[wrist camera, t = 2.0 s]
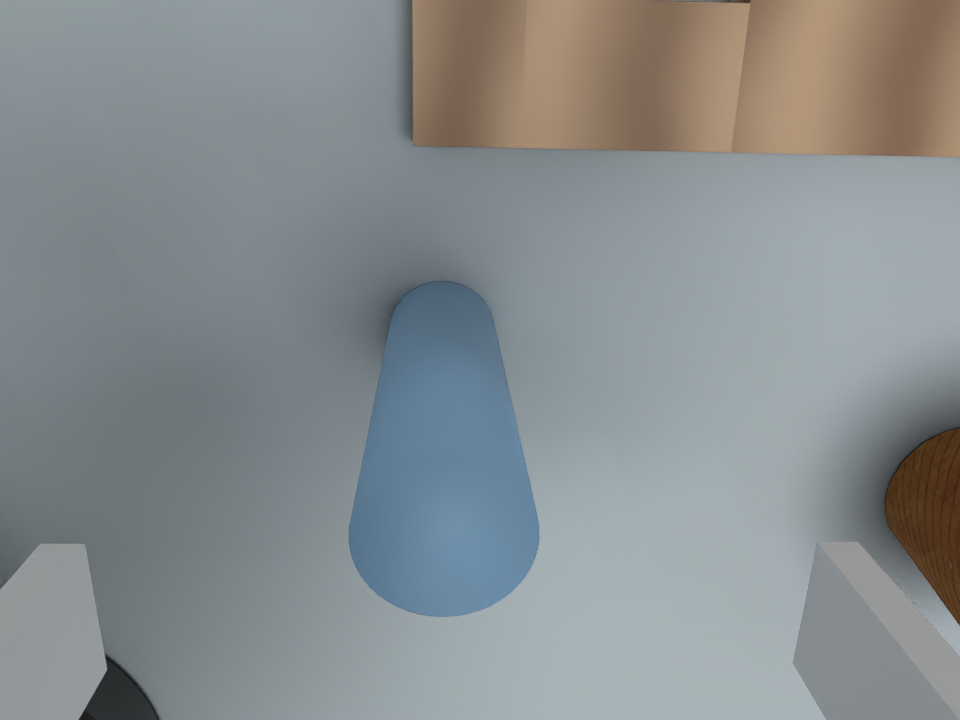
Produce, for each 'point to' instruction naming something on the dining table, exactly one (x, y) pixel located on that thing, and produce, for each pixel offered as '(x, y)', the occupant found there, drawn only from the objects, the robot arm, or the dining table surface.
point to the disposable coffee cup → (930, 513)
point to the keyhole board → (689, 75)
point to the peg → (443, 464)
